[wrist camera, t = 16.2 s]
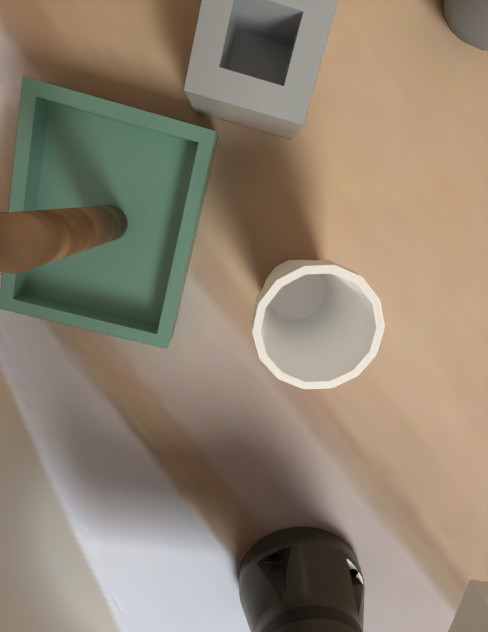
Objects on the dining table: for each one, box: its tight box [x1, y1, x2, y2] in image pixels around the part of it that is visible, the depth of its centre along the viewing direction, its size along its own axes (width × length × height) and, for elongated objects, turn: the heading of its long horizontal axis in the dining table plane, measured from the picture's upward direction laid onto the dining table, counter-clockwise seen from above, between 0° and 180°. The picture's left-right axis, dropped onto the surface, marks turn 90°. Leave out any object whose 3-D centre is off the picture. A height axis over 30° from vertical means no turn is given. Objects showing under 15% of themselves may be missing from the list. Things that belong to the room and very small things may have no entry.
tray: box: [0, 76, 218, 349], centre depth 39 cm, size 20×16×4 cm
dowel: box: [0, 205, 128, 274], centre depth 31 cm, size 3×3×18 cm
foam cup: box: [251, 260, 385, 389], centre depth 36 cm, size 10×9×13 cm
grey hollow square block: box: [184, 0, 338, 139], centre depth 33 cm, size 9×9×8 cm
